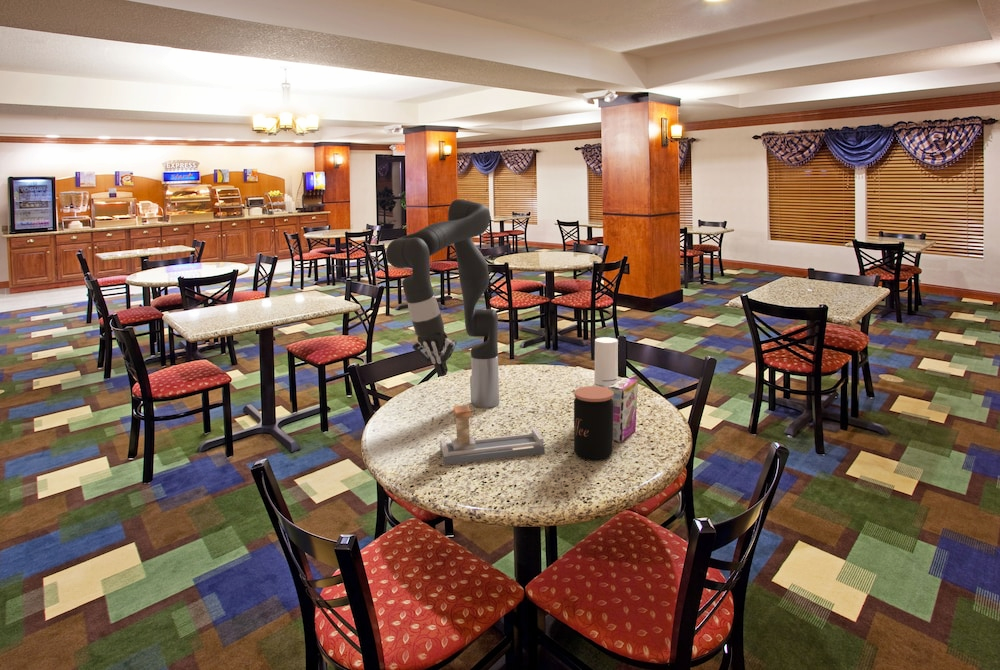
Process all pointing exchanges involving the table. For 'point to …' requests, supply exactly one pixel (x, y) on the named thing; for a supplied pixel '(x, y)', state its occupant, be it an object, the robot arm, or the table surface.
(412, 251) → the robot arm
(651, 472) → the table surface
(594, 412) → the coffee jar
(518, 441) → the track
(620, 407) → the candy bar box
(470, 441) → the slider
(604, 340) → the cylindrical container
